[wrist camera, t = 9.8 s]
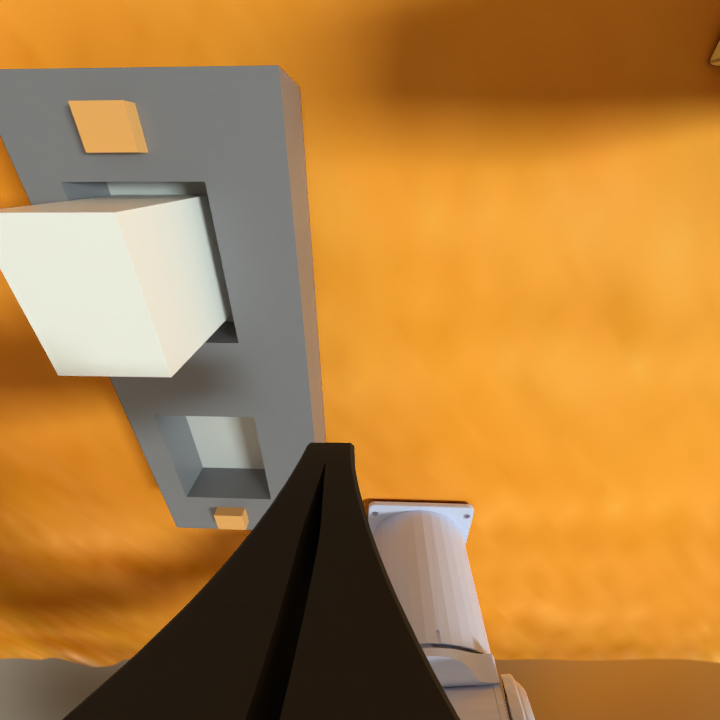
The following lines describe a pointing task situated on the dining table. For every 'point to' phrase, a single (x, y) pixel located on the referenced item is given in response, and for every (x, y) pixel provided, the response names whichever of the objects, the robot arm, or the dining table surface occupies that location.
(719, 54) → the candy box
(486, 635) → the robot arm
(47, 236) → the plug
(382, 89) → the dining table surface
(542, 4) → the dining table surface
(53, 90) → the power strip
